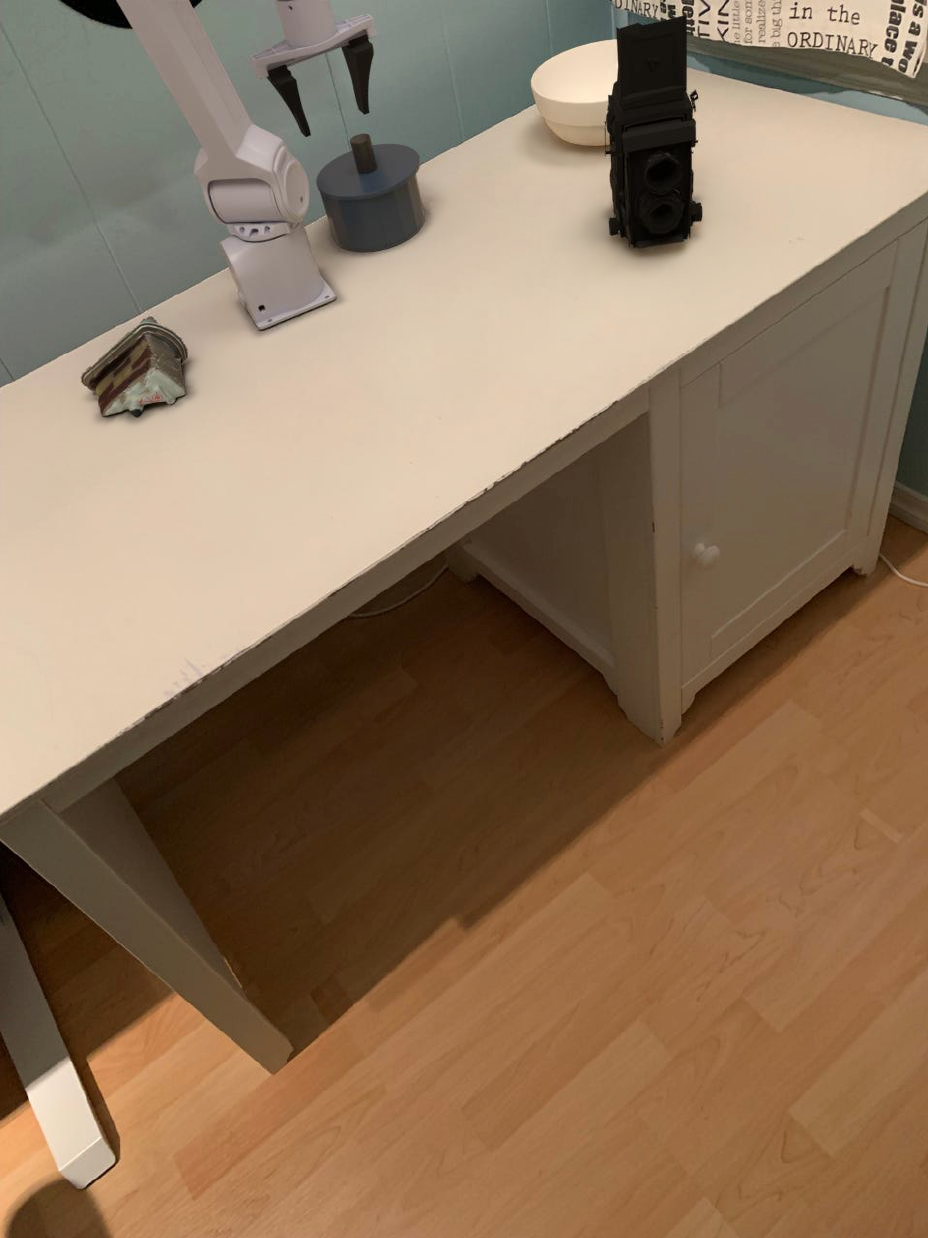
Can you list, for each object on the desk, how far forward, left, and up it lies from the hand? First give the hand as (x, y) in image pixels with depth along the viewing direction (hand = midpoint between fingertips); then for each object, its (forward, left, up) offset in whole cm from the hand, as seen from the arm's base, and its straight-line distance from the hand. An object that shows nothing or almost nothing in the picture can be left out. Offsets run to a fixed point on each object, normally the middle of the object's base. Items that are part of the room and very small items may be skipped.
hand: (335, 122), depth 105 cm
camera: (+24, -32, -10) cm, 41 cm away
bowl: (+33, -7, -10) cm, 35 cm away
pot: (0, -8, -10) cm, 13 cm away
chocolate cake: (-34, -23, -10) cm, 42 cm away
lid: (0, -8, -3) cm, 9 cm away
